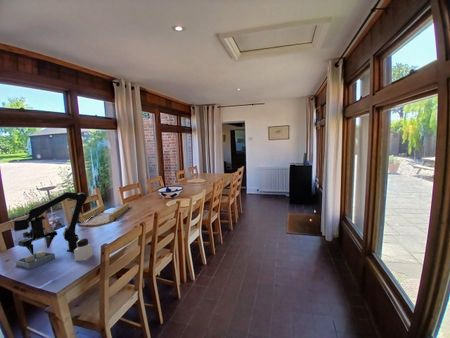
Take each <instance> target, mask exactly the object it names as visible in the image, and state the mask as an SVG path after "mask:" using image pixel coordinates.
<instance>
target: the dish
mask: <svg viewBox="0 0 450 338" xmlns="http://www.w3.org/2000/svg"><path fill="white" fill-rule="evenodd" d="M36 253H37V252H35V253H33V255H34V257H35V262H32V263H26V262H25V257H26V256H24V257H22V258H19V259H17V260H15V266H16V267H20V268H24V269H27V270H32V269H34V268H35V267H38V266H40V265H43V264H44V263H45V264H46V262H49V261H51V260H53V259H55V257H56V256H55V253H52V252H47V251H45V254H46V257H44V258H42V259H39V260H37V257H36Z"/></svg>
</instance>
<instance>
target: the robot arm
mask: <svg viewBox="0 0 450 338" xmlns="http://www.w3.org/2000/svg"><path fill="white" fill-rule="evenodd" d="M67 199H70V200H75V205H74V208H73V209H74V211H73V210H72V211H73V214H72V213H71V219H70V221H69V224H68V226H67V227H64V231H63V233H62V235H63V238H64V240H65V241H67V243H68V244H67V247H68V249H66V251H67V252H70V253H74V250H75V249H76V248H77V241H78V240H80V237H79V235H78V234H77V233H76V226H77V223H78V222H79V221H78V218H79V214H81V213H80V212H82V211H81V210H82V208H83V206H84V204H85V203H86V201H87V200H88V196H87V194H86V193H85V192H69V191H64V192H63V193H62V194H60V195H58V196H56V197H54V198H53V199H50V200H49V201H47V202H45V203H41V204H38V205H35V206H33V207H31V208H30V209H29V213H28V215H27V216H26V218H21V219H14V221H13V222H14V223H13V229H14V232H15V233H16V232H20V231H25V230H28V229H29V228H30V229H29V232H28V231H25V232H23V233H22V237H23V238H24V239H22V240H19V241H18V242H17V243H18V246H19V247H23V248H27V250H28V251H29V253H30V255H33V254H34V244H33V242H35V241H38V240H42V239H45V242H46V248H47V249H49V248H50V246H51V244H52V242H53V239H54V238H55V237H56V236H58V232H57V231H56V230H54V229H53V230H48V231H45V230H46V228H45V227H44V221H43V220H46V219H47V217H46V216H44V213H45V212H47V211H48V210H49V209H51V208H52V207H54V206H56V205H58V204H60V203H61V202H63V201H65V200H67ZM79 219H80V218H79ZM77 221H78V222H77Z"/></svg>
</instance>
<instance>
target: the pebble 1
mask: <svg viewBox="0 0 450 338" xmlns="http://www.w3.org/2000/svg"><path fill="white" fill-rule="evenodd" d="M24 257H25V262H26V263H32V262H35V260H36V258H35V257H34V255H32V254H30V255H27V256H24Z"/></svg>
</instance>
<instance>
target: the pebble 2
mask: <svg viewBox="0 0 450 338" xmlns="http://www.w3.org/2000/svg"><path fill="white" fill-rule="evenodd" d="M45 252H46V250H40V251H37V252H35V253H36V260H39V259H42V258H44V257H46V254H45Z"/></svg>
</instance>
